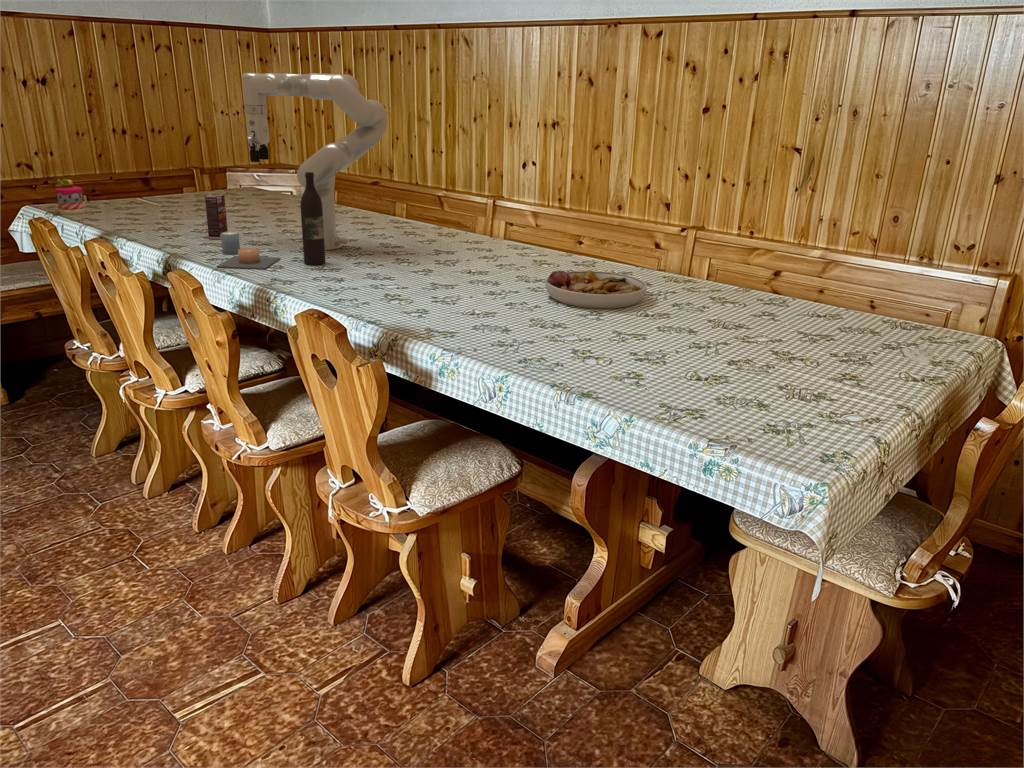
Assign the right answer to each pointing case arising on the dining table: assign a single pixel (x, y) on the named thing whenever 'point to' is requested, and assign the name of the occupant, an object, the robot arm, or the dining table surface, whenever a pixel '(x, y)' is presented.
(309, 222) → the wine bottle
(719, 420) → the dining table surface
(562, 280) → the bowl
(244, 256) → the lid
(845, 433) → the dining table surface
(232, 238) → the gray cylinder
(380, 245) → the dining table surface
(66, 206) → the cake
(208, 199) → the supplement box
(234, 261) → the mat
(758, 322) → the dining table surface
